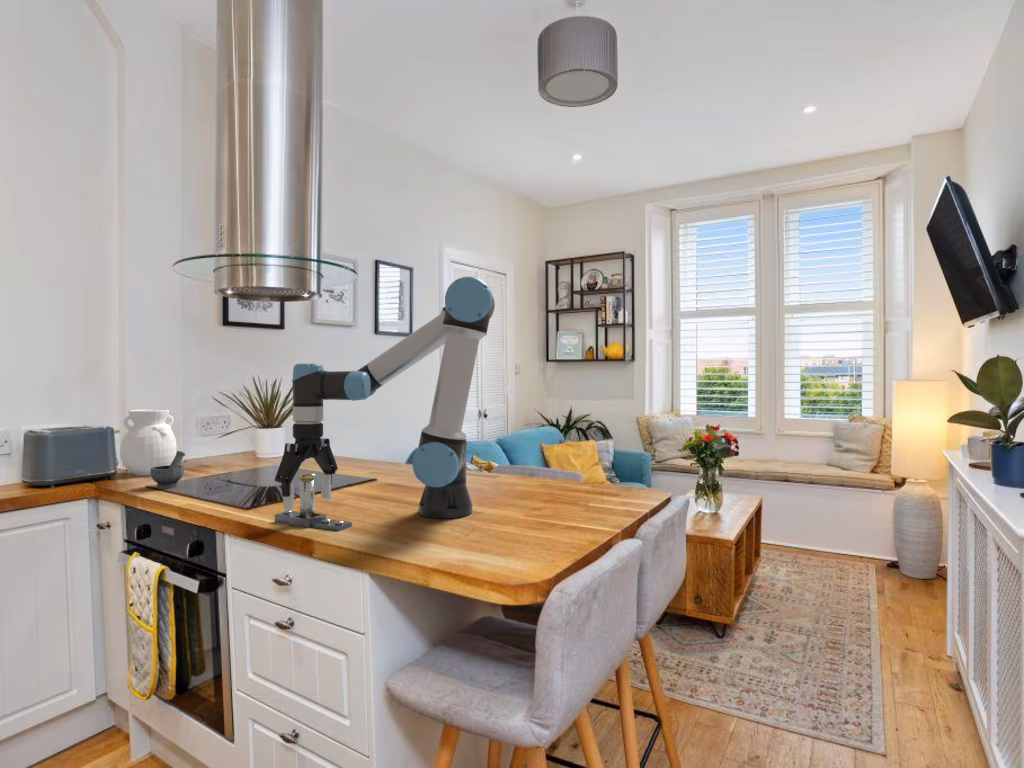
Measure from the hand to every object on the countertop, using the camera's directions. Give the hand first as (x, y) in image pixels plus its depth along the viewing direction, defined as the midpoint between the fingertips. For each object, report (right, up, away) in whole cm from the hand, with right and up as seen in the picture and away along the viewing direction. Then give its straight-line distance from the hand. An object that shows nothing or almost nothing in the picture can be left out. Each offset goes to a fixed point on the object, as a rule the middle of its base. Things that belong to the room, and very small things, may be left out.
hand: (308, 503), depth 148 cm
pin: (0, -5, 0) cm, 5 cm away
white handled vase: (-88, -4, +72) cm, 114 cm away
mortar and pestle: (-65, -4, +47) cm, 80 cm away
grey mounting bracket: (+1, -5, -1) cm, 5 cm away
